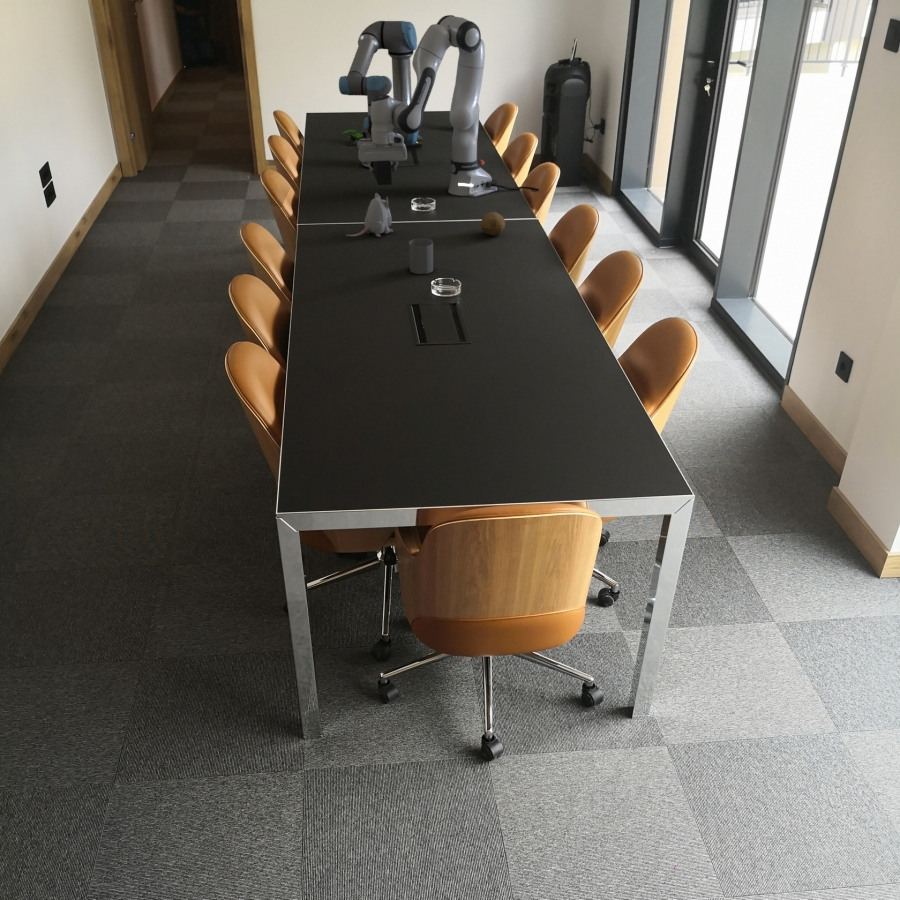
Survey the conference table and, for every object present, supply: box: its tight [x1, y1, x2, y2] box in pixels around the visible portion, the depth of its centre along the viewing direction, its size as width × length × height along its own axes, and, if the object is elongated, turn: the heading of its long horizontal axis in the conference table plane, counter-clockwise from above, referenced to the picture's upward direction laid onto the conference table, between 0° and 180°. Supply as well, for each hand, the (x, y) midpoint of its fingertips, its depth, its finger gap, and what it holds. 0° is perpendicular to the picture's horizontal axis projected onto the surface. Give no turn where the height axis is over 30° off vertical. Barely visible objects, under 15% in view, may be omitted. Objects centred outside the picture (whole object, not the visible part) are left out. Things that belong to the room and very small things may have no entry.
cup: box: [408, 237, 434, 275], centre depth 305 cm, size 8×8×10 cm
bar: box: [372, 161, 393, 186], centre depth 371 cm, size 24×6×9 cm, turn 11°
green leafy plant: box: [340, 129, 363, 146], centre depth 465 cm, size 6×13×30 cm
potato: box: [480, 211, 506, 237], centre depth 338 cm, size 10×14×8 cm
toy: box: [346, 192, 394, 238], centre depth 334 cm, size 9×24×15 cm, turn 137°
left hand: (379, 170), depth 381 cm, fingers closed on bar, 6 cm apart
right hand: (383, 171), depth 364 cm, fingers open, 8 cm apart
